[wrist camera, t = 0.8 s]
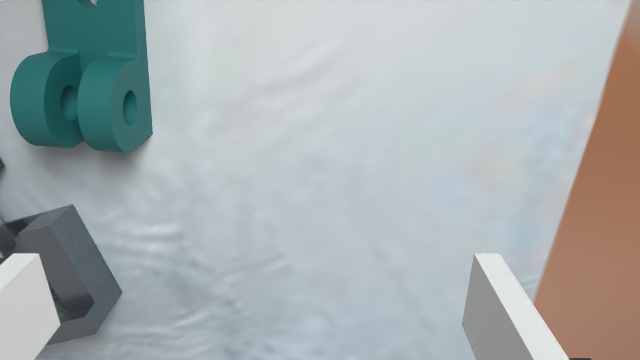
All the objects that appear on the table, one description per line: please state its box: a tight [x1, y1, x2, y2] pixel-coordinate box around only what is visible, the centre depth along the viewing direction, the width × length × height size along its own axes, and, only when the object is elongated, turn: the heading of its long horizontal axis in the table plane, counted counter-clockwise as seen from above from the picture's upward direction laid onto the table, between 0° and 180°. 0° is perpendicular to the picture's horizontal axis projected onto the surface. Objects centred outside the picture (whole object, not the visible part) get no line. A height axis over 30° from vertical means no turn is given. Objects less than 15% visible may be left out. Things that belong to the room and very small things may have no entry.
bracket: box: [10, 0, 153, 152], centre depth 32 cm, size 18×7×8 cm, turn 175°
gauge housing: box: [0, 205, 122, 346], centre depth 42 cm, size 10×14×6 cm
